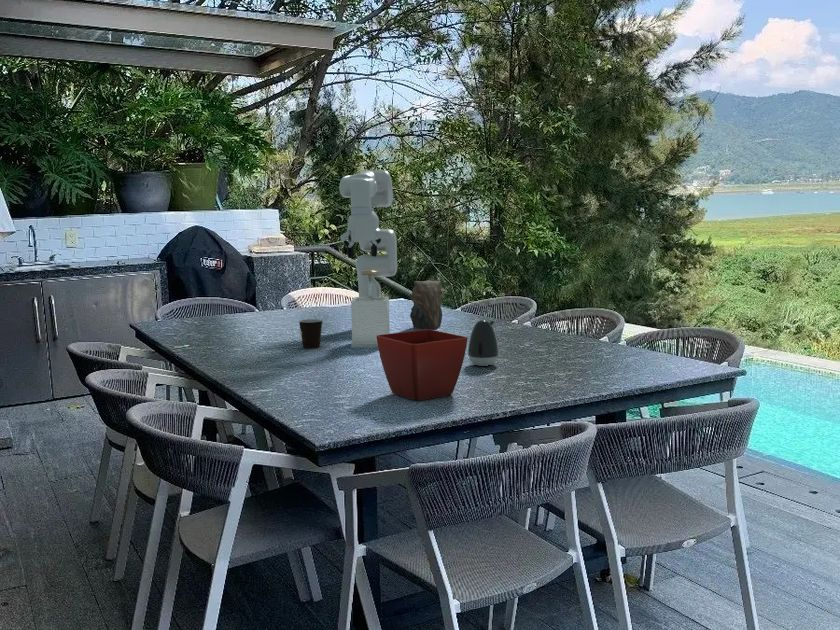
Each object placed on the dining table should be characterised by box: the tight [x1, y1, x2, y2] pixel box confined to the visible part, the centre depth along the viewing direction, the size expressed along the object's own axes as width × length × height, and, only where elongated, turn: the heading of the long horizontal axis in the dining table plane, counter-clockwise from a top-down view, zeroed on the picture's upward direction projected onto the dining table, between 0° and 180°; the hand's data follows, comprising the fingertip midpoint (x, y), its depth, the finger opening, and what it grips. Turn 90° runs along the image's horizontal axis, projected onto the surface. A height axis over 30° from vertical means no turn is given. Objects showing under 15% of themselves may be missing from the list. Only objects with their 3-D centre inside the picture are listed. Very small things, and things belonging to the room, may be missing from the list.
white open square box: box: [350, 296, 391, 349], centre depth 327 cm, size 14×14×18 cm
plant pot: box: [377, 329, 469, 402], centre depth 242 cm, size 19×19×17 cm
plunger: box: [360, 270, 379, 301], centre depth 326 cm, size 10×10×17 cm
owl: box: [409, 279, 443, 331], centre depth 370 cm, size 13×13×20 cm
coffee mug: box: [298, 318, 323, 350], centre depth 326 cm, size 12×9×10 cm
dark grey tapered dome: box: [467, 319, 500, 367], centre depth 284 cm, size 10×10×15 cm
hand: (362, 257), depth 326 cm, fingers open, 9 cm apart
